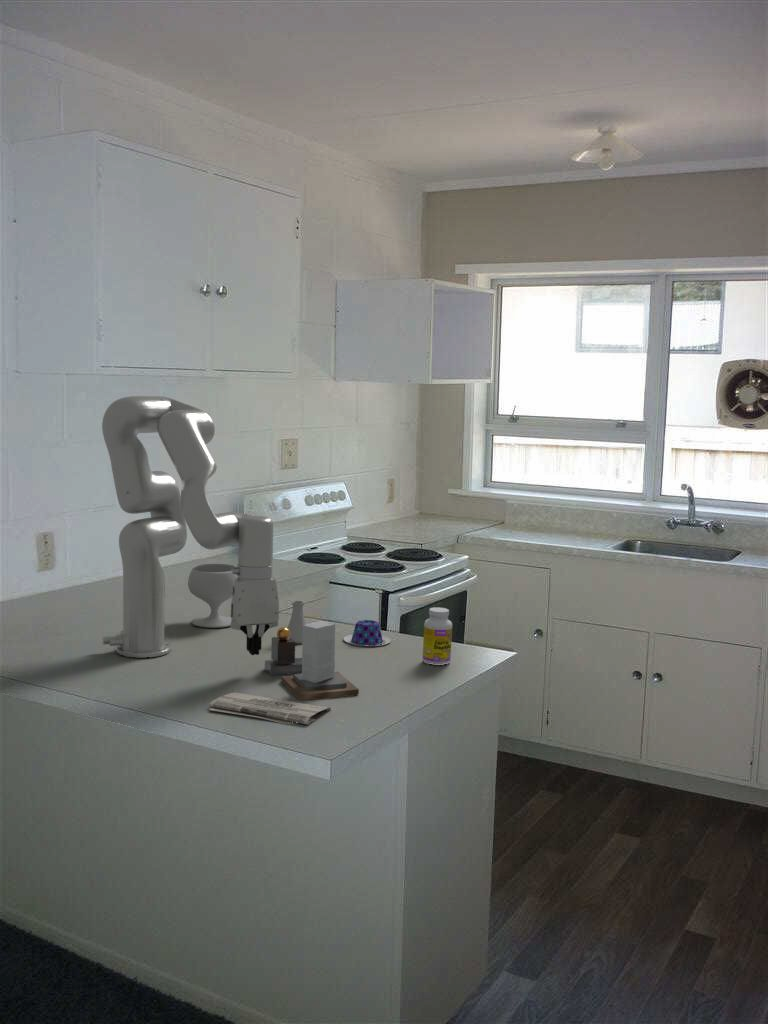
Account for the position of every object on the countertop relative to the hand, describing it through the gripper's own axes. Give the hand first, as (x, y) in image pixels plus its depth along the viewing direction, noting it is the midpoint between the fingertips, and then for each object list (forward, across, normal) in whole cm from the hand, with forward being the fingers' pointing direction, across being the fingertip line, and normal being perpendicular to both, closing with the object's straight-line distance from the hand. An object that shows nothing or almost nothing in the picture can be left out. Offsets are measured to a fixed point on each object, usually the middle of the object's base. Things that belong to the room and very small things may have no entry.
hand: (253, 653), depth 224 cm
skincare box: (+3, +10, -14) cm, 17 cm away
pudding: (+5, +35, +19) cm, 40 cm away
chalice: (+5, +2, +46) cm, 46 cm away
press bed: (+5, +11, -14) cm, 18 cm away
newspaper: (+6, -3, -25) cm, 26 cm away
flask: (+5, +18, +24) cm, 30 cm away
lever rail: (+5, +11, 0) cm, 12 cm away
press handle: (+2, +7, 0) cm, 7 cm away
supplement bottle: (+5, +44, -3) cm, 44 cm away
